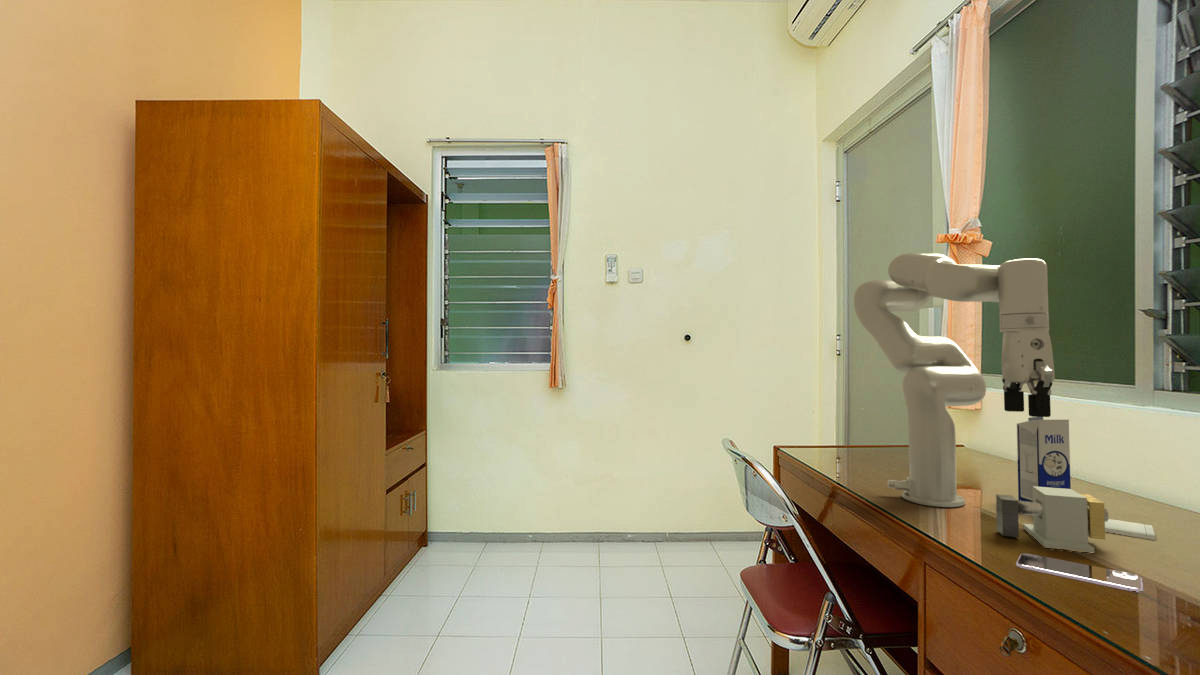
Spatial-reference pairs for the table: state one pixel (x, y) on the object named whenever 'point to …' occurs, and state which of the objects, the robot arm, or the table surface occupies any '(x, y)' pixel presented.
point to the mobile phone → (1081, 572)
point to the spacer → (1095, 517)
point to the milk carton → (1042, 455)
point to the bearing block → (1060, 519)
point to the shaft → (1016, 513)
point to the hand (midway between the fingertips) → (1026, 413)
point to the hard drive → (1130, 529)
